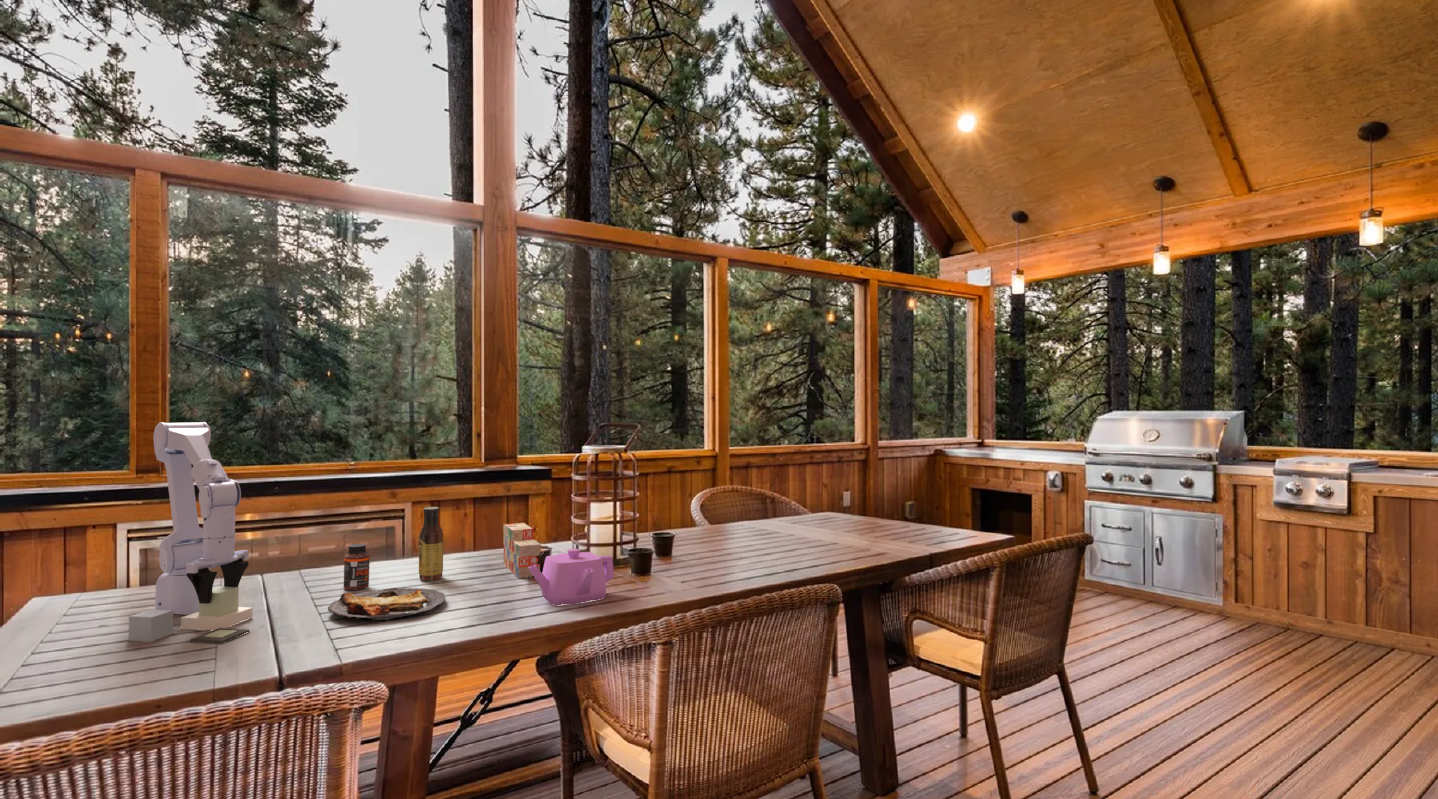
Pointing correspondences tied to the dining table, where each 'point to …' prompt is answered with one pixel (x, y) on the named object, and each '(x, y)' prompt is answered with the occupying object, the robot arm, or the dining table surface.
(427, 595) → the food plate
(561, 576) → the teakettle
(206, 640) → the tile
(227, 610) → the sage block
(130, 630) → the grey block
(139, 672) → the dining table surface
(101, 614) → the dining table surface
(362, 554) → the supplement bottle
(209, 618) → the base block
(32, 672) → the dining table surface
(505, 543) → the stack of blocks
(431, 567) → the sauce bottle
